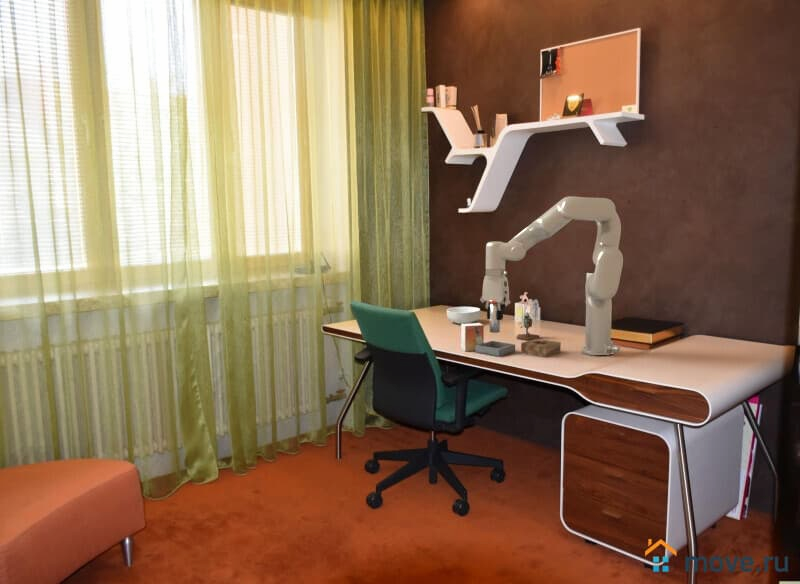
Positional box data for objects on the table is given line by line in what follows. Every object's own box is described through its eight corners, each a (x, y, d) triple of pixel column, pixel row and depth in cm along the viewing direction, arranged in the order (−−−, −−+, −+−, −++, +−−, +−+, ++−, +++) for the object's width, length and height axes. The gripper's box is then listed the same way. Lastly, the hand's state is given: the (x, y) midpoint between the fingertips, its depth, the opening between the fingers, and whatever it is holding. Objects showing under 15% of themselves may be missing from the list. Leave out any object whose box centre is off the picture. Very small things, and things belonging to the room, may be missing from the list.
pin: (503, 331, 258) (504, 299, 257) (496, 333, 255) (496, 301, 253) (493, 329, 262) (493, 298, 260) (485, 331, 258) (485, 299, 257)
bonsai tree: (518, 335, 291) (518, 308, 290) (539, 336, 289) (540, 309, 287) (515, 340, 281) (516, 312, 279) (537, 341, 278) (538, 313, 277)
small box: (464, 351, 261) (464, 326, 260) (460, 348, 267) (460, 323, 265) (484, 350, 263) (483, 324, 262) (479, 347, 268) (479, 322, 267)
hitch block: (560, 352, 258) (560, 342, 257) (545, 357, 250) (545, 346, 249) (536, 348, 265) (536, 338, 265) (521, 352, 257) (521, 343, 257)
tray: (515, 351, 260) (515, 344, 259) (498, 356, 252) (498, 349, 251) (492, 347, 267) (492, 340, 267) (475, 352, 259) (475, 345, 259)
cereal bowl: (444, 320, 330) (444, 306, 329) (477, 319, 331) (477, 306, 330) (449, 326, 314) (449, 312, 313) (483, 325, 315) (483, 311, 314)
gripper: (518, 273, 252) (518, 320, 255) (483, 271, 264) (483, 315, 266) (507, 275, 247) (506, 323, 249) (472, 272, 258) (472, 318, 261)
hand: (494, 318), depth 258 cm, fingers closed on pin, 4 cm apart
